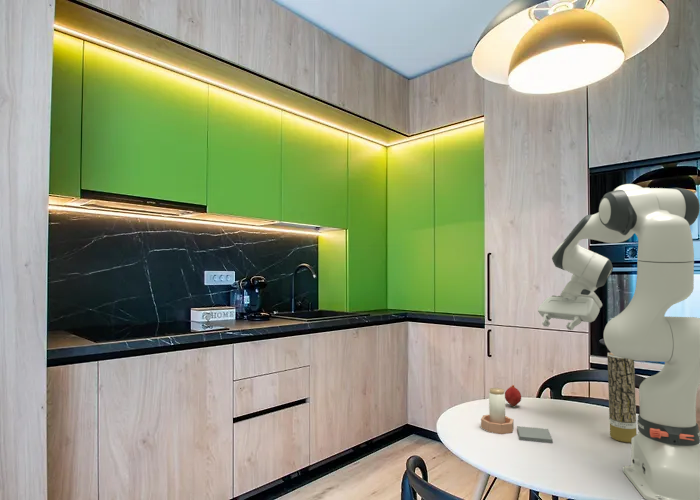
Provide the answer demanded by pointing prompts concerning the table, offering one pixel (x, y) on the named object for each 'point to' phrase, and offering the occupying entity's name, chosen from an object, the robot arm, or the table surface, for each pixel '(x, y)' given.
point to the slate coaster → (534, 434)
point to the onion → (512, 396)
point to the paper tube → (621, 398)
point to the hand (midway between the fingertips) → (556, 326)
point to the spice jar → (497, 405)
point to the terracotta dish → (497, 425)
